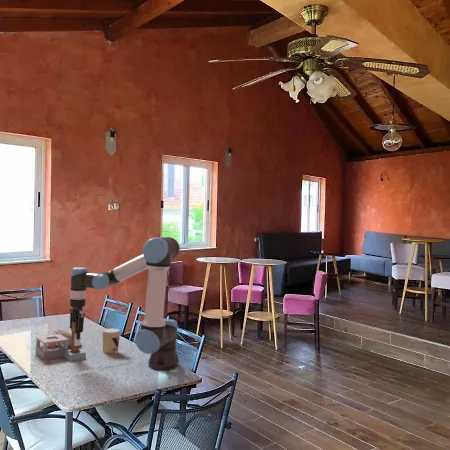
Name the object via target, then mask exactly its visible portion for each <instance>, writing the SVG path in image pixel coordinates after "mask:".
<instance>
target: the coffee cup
mask: <svg viewBox="0 0 450 450" xmlns="http://www.w3.org/2000/svg"><path fill="white" fill-rule="evenodd" d="M120 336H121V330H120V329H119V328H113V327H111V328H104V329H103V330H102V352H103V353H105V354H115V355H117V354H118V353H119V343H120Z"/></svg>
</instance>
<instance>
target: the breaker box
mask: <svg viewBox="0 0 450 450" xmlns="http://www.w3.org/2000/svg"><path fill="white" fill-rule="evenodd" d="M60 342H64V345H63V344H61V343H60ZM68 342H69V339H67V338H66V337H64V336H62V335H61V334H56V333H55V334H50V335H49V334H48V335H41V336H40V335H39V336H36V340H35V355H36V356H38V357H39V358H40V359H42V360H43V361H44V360H45V361H47V360H52V359H57V358H65V357H64V351H65V350H69V346H68ZM53 343H56V348H51V349H48V344H53Z"/></svg>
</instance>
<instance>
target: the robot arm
mask: <svg viewBox="0 0 450 450" xmlns="http://www.w3.org/2000/svg"><path fill="white" fill-rule="evenodd" d="M180 250H181V248H180V244H179V242H178V241H177V240H176V239H175V238H173V237H172V236H171V237H170V236H164V237H163V236H161V237H160V236H158V237H157V236H155V237H151V238H149V239H148V240H147V241H146V242H145V243H144V245H143V247H142V254H141V255H138V256H137V257H135V258H133V259H130V260H129V261H126V262H125V263H122V264H121V265H119V266H116V267H115V268H113V269H111V270H109V271H108V270H107V271H104V272H95V273H94V272H88V268H87V267H73V268H72V269H71V273H70V274H71V275H70V290H69V291H70V292H69V293H70V294H69V298H70V299H69V306H70V307H71V308H70V309H69V329H70V331H71V332H72V322H74V321H76V332H74V333H75V338H74V346H79V345H80V346H81V340H80V338H81V333H83V332H84V323H85V322H84V321H85V316H86V314H85V312H83V307H85V306H86V301H87V300H86V297H87V288H88V289H92V290H93V289H95V290H106V289H107V288H108V287H111V286H116V285H118V284H120V283H121V282H122V281H124V280H126V279H129V278H131V277H133V276H135V275H137V274H139V273H140V272H143V271H146V270H148V272H147V273H148V275H147V288H146V297H145V298H146V301H145V308H144V309H145V310H144V319H143V320H142V321H141V323H140V328H139V329H140V330H139V331H138V332H137V334H136V335H135V337H134V338H135V339H134V341H135V345H136V347H137V348H138V350H139V351H140V352H141V353H143V354H146V355H150V356H149V359H148V364H147V365H148V367H149V368H151V369H153V370H158V371H169V370H174V369H177V368H178V367H179V365H180V361H179V356H178V353H177V341H178V340H177V336H178V322H177V320H174V319H170V318H164V312H165V311H164V309H165V300H166V299H165V298H166V287H167V277H168V275H167V274H168V270H169V269H170V268H171V265H172V261H173V260H175V259H176V258H177V257H178V256H179V254H180ZM70 334H71V336H72V333H70Z"/></svg>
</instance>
